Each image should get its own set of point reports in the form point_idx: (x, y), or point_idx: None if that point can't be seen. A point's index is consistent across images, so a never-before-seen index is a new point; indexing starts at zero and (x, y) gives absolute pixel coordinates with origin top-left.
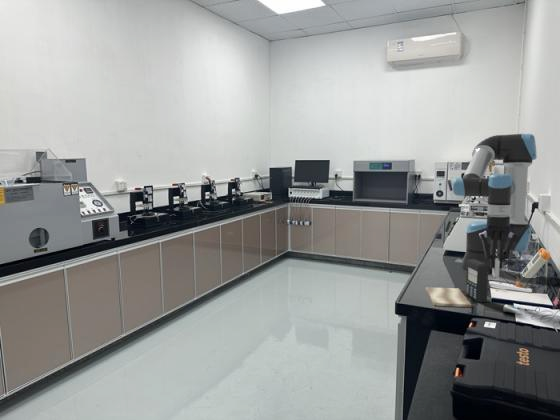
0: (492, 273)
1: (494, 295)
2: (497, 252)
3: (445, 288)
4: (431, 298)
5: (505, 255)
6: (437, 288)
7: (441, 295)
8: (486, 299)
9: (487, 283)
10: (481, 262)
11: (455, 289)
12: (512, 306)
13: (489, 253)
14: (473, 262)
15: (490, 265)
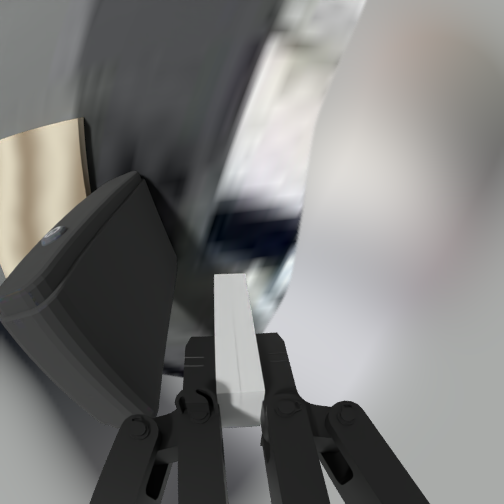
0: (214, 288)
1: (247, 159)
2: (275, 467)
3: (26, 140)
4: (3, 265)
5: (323, 460)
6: (1, 152)
7: (19, 240)
8: (176, 270)
9: (167, 327)
10: (105, 401)
11: (62, 141)
12: (270, 285)
13: (162, 488)
14: (49, 377)
15: (187, 359)
